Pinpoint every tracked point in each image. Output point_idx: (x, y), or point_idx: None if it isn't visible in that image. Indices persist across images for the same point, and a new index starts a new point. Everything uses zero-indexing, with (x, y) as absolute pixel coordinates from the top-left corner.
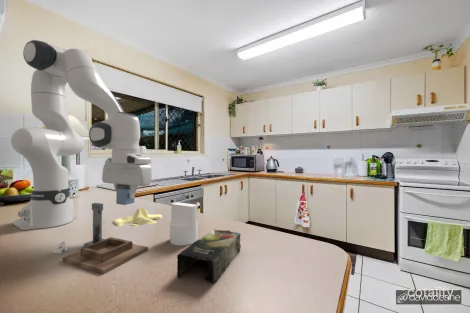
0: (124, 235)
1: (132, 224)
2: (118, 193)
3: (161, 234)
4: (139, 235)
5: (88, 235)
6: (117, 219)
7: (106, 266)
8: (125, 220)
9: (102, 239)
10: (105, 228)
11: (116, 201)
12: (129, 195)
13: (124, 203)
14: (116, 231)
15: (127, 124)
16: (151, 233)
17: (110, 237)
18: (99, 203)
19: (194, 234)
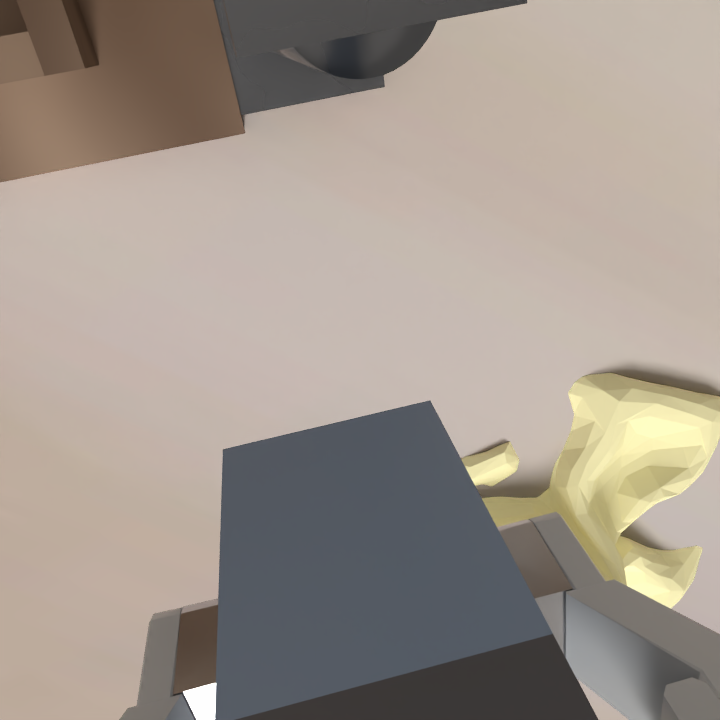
0: (306, 297)
1: (490, 458)
2: (438, 555)
3: (56, 496)
4: (190, 376)
5: (608, 90)
6: (701, 431)
7: None
8: (603, 457)
9: (315, 83)
10: (634, 281)
11: (439, 425)
12: (179, 646)
13: (230, 466)
14: (471, 303)
15: None
16: (153, 458)
17: (73, 57)
18: (352, 17)
19: None
